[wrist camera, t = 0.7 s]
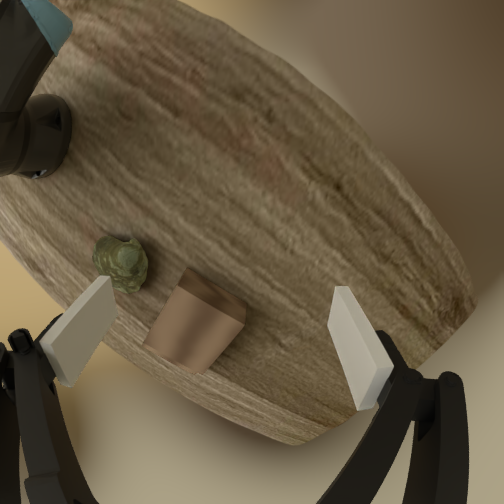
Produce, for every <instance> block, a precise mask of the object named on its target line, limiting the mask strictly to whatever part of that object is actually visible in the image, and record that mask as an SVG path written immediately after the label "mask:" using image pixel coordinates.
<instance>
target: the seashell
mask: <svg viewBox="0 0 504 504" xmlns="http://www.w3.org/2000/svg"><path fill="white" fill-rule="evenodd" d="M92 258H93V262H94V264H95V267H96V268H97V270H98V272H99V274H100V275H101V276H110V277H111V283H112V287H113V288H115V289H116V290H118V291H122V292H123V293H128V294H130V293H133V292H137V291H139V289H140V286H141V284H143V282H144V281H145V279H146V276H147V269H148V259H147V257H146V254H145V251H144V250H142V246H141V245H140V243H139V241H137V240H136V239H131V240H130V242H122V241H120V240H118V239H116V238H114V237H113V236H104V237H101V238H100V239H99V240H98V241H97V242H96V244H95V245H94V249H93V256H92Z"/></svg>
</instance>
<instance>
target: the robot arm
mask: <svg viewBox="0 0 504 504" xmlns="http://www.w3.org/2000/svg"><path fill="white" fill-rule="evenodd" d="M72 30H73V24H72V21H71V20H70V19H69V18H68V17H67V16H66V15H65V14H64V13H63V12H62V11H61V10H59V9H58V8H57V7H56V6H54V5H53V4H52V3H51V2H49V1H48V0H0V177H2V176H5V175H9V174H13V175H17V176H21V177H24V178H28V179H37V178H42V177H46V176H48V175H50V174H51V173H53V172H54V171H55V170H56V169H57V168H58V167H59V165H60V164H61V162H62V161H63V159H64V157H65V155H66V152H67V150H68V147H69V143H70V138H71V127H72V126H71V116H70V112H69V109H68V106H67V105H66V103H65V102H64V100H63V99H61V98H60V97H59V96H56V95H51V94H39V95H36V96H33V97H30V96H31V94H32V93H33V91H34V89H35V87H36V86H37V84H38V82H39V81H40V79H41V78H42V76H43V74H44V73H45V71H46V70H47V68H48V67H49V65H50V64H51V62H52V61H53V59H54V58H55V57H57V55H58V52H59V50H60V49H61V47H62V46H63V44H64V43H65V41H66V40H67V39H68V37H69V36H70V34H71V32H72ZM117 316H118V311H117V306H116V302H115V297H114V293H113V288H112V283H111V277H110V276H101V275H100V276H99V277H98V278H97V279H96V280H95V281H94V282H93V283H92V284H91V285H90V286H89V287H88V288H87V289H86V290H85V291H84V292H83V293H82V294H81V295H80V296H79V297H78V298H77V299H76V301H75V302H74V303H73V304H72V305H71V306H70V307H69V308H68V309H67V310H66V311H65V313H64V314H63V313H62V314H60V315H58V316H57V317H55V318H54V319H53V320H52V321H51V322H50V324H49V325H48V326H47V327H46V329H44V330H43V331H42V332H41V334H40V335H39V336H38V337H37V338H36V339H35V341H34V342H33V340H32V337H31V335H30V333H29V331H28V330H27V329H23V328H22V329H17V330H15V331H14V332H12V333H11V334H10V335H9V337H8V342H9V343H10V346H11V348H12V350H13V351H7V349H6V347H5V345H4V344H3V343H2V342H0V504H21V496H20V495H21V494H20V478H19V445H20V436H21V442H22V447H23V452H24V456H25V461H26V465H27V469H28V473H29V478H27V479H25V481H24V484H25V489H26V492H27V496H28V499H29V502H30V504H99V503H98V502H97V501H96V499H95V498H94V496H93V495H92V493H91V491H90V488H89V486H88V484H87V482H86V480H85V477H84V475H83V473H82V470H81V468H80V465H79V463H78V460H77V458H76V455H75V452H74V450H73V447H72V444H71V441H70V438H69V435H68V432H67V429H66V425H65V422H64V418H63V415H62V411H61V407H60V403H59V399H58V395H57V390H56V386H55V384H54V382H53V380H54V378H55V377H57V379H58V381H59V382H60V384H62V385H64V386H67V387H70V388H72V387H73V385H74V384H75V382H76V380H77V379H78V377H79V375H80V374H81V372H82V370H83V369H84V367H85V365H86V364H87V362H88V361H89V359H90V357H91V356H92V354H93V352H94V351H95V349H96V348H97V346H98V345H99V343H100V342H101V340H102V339H103V337H104V336H105V334H106V333H107V331H108V329H109V328H110V326H111V325H112V323H113V322H114V321H115V319H116V318H117ZM327 326H328V329H329V331H330V334H331V337H332V340H333V342H334V345H335V348H336V351H337V353H338V356H339V359H340V362H341V364H342V367H343V370H344V373H345V376H346V379H347V382H348V385H349V388H350V390H351V393H352V396H353V399H354V402H355V405H356V408H357V411H359V410H366V409H371V408H373V407H374V405H375V403H376V401H377V402H378V404H379V409H378V411H377V412H376V414H375V416H374V417H373V419H372V422H371V424H370V425H369V427H368V429H367V431H366V432H365V434H364V436H363V437H362V439H361V441H360V442H359V444H358V446H357V447H356V449H355V450H354V452H353V454H352V455H351V457H350V458H349V460H348V461H347V463H346V464H345V466H344V467H343V468H342V470H341V471H340V473H339V474H338V476H337V477H336V478H335V480H334V481H333V482H332V484H331V485H330V486H329V488H328V489H327V490H326V492H325V493H324V494H323V495H322V497H321V498H320V499H319V501H318V502H317V503H316V504H370V503H371V501H372V500H373V498H374V497H375V495H376V493H377V492H378V490H379V488H380V486H381V485H382V483H383V481H384V479H385V477H386V475H387V473H388V472H389V470H390V468H391V466H392V464H393V462H394V460H395V457H396V455H397V453H398V451H399V449H400V447H401V444H402V442H403V440H404V437H405V435H406V433H407V430H408V428H409V425H410V422H411V421H415V425H414V436H413V445H412V453H411V460H410V467H409V473H408V478H407V483H406V488H405V493H404V498H403V503H402V504H467V494H468V479H469V438H468V422H467V411H466V402H465V394H464V387H463V382H462V379H461V378H460V377H459V375H457V374H455V373H453V372H449V371H446V372H443V373H442V374H441V375H440V376H439V378H438V379H426V378H423V376H422V374H421V373H420V372H418V371H417V370H415V369H411V368H408V366H407V364H406V362H405V361H404V359H403V357H402V356H401V354H400V352H399V351H398V350H397V347H396V346H395V344H394V342H393V341H392V339H391V337H390V336H389V335H388V334H387V333H385V332H384V331H383V330H378V331H374V329H373V327H372V326H371V324H370V322H369V320H368V319H367V317H366V315H365V314H364V312H363V310H362V309H361V307H360V305H359V304H358V302H357V300H356V299H355V297H354V295H353V294H352V292H351V290H350V289H349V287H348V286H335V291H334V296H333V301H332V306H331V311H330V315H329V320H328V324H327ZM2 382H3V384H4V385H3V387H2Z"/></svg>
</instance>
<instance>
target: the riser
mask: <svg viewBox="0 0 504 504" xmlns="http://www.w3.org/2000/svg"><path fill="white" fill-rule="evenodd" d="M246 307H247V303H245V302H243V301H242V300H240V299H238V298H237V297H235V296H233V295H232V294H230V293H228V292H227V291H225V290H223V289H222V288H220V287H218V286H217V285H215V284H213V283H212V282H210V281H208V280H207V279H205V278H203V277H202V276H200V275H199V274H197V273H195V272H194V271H192V270H190V269H189V268H187V269H186V270H185V272H184V273H183V275H182V277H181V278H180V280H179V282H178V283H177V285H176V287H175V288H174V290H173V292H172V293H171V295H170V297H169V298H168V300H167V302H166V304H165V305H164V307H163V309H162V310H161V312H160V314H159V316H158V317H157V319H156V321H155V323H154V324H153V326H152V328H151V330H150V331H149V333H148V335H147V337H146V339H145V340H144V342H143V344H142V346H143V347H145V348H146V349H148V350H150V351H151V352H153V353H155V354H157V355H158V356H160V357H162V358H164V359H165V360H167V361H169V362H171V363H173V364H175V365H176V366H178V367H180V368H182V369H184V370H186V371H188V372H190V373H192V374H194V375H195V374H196V373H199V374H201V375H203V374H204V373H205V371H206V370H207V369H208V368H209V367H210V366H211V365H212V363H213V362H214V361H215V360H216V359H217V358H218V356H219V355H220V354H221V353H222V352H223V351H224V350H225V348H226V347H227V346H228V345H229V344H230V342H231V341H232V340H233V339H234V338H235V337H236V335H237V334H238V333H239V332H240V331H241V329H242V328H243V327H244V326H245V321H246Z"/></svg>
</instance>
